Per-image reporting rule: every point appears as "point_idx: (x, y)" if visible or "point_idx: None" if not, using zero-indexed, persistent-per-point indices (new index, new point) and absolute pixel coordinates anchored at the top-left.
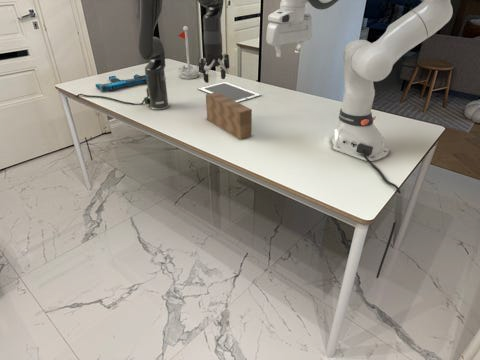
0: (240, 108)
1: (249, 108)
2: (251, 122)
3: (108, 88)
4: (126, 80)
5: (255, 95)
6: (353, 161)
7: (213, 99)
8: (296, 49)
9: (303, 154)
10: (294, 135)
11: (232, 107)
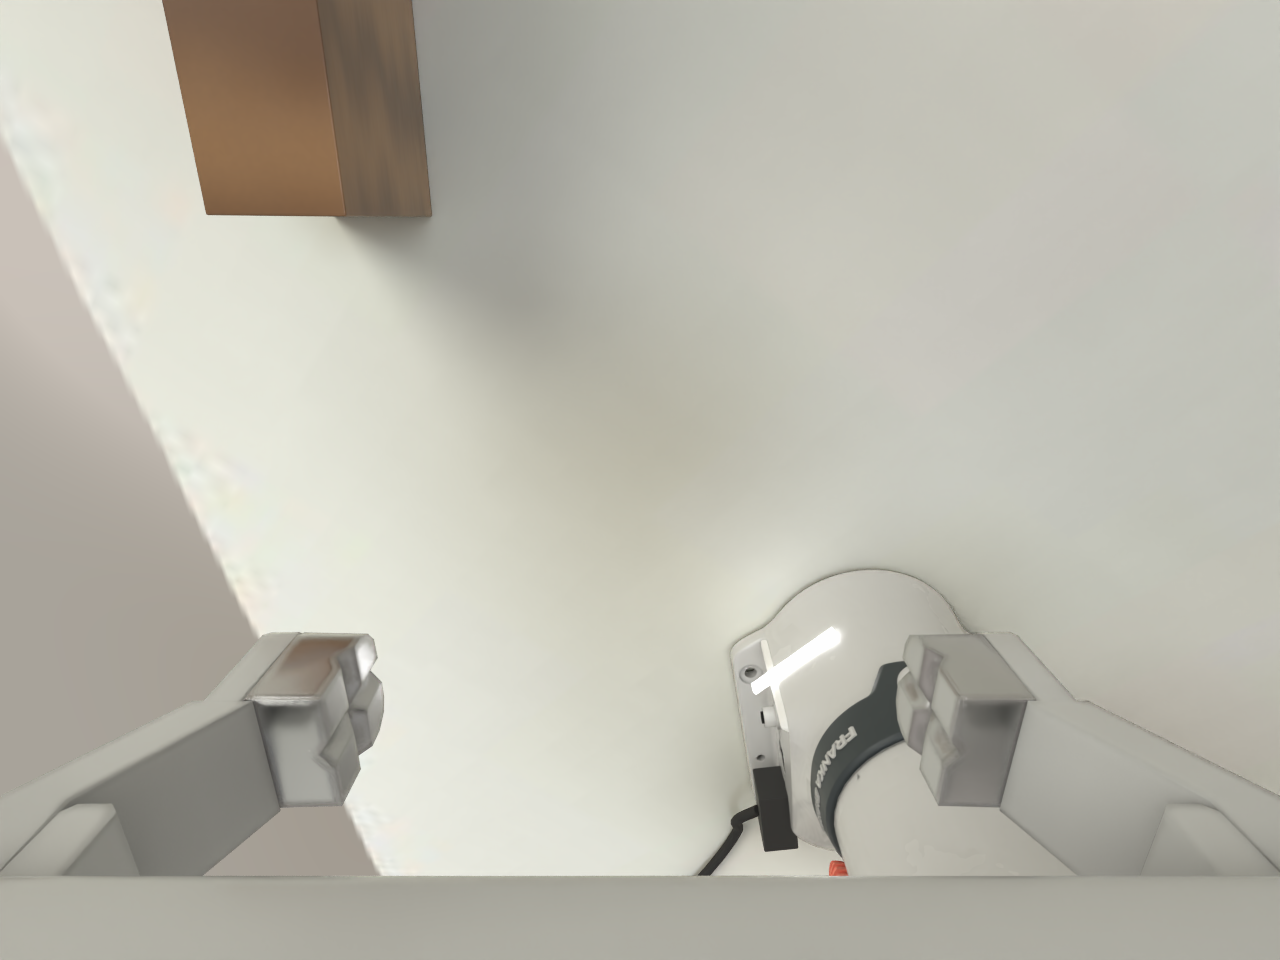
0: (253, 115)
1: (337, 179)
2: (394, 215)
3: None
4: None
5: None
6: (707, 762)
7: None
8: (949, 736)
9: (558, 595)
10: (692, 398)
11: (183, 29)
